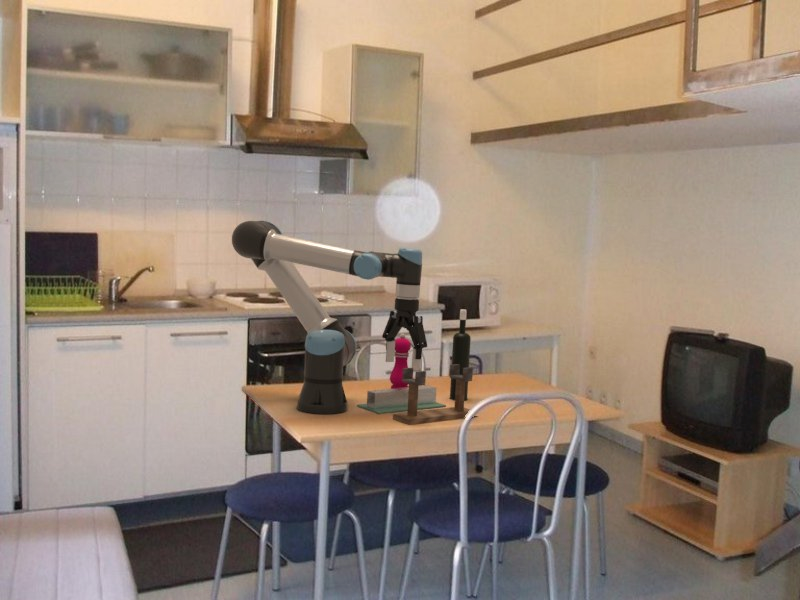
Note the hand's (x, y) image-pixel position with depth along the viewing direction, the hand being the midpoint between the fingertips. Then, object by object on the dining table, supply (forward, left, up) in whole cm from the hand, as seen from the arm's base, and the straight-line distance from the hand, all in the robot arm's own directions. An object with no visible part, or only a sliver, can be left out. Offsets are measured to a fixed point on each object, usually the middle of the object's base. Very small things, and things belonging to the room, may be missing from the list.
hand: (402, 365), depth 274 cm
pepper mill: (+14, +20, -13) cm, 28 cm away
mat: (0, 0, -13) cm, 13 cm away
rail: (0, 0, -12) cm, 12 cm away
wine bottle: (+25, +2, -13) cm, 29 cm away
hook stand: (0, -17, -13) cm, 22 cm away
